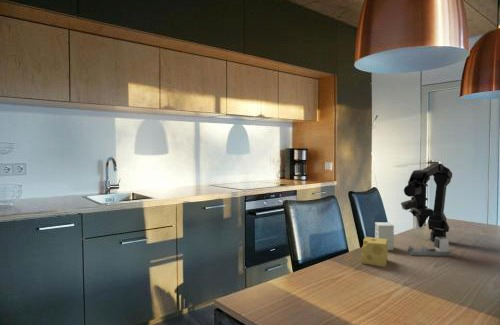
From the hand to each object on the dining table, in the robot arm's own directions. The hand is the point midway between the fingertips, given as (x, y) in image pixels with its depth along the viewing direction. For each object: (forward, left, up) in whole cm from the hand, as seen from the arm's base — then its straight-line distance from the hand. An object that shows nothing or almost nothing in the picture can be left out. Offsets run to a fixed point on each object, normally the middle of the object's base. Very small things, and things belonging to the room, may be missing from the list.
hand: (418, 226), depth 166 cm
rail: (-1, +8, -12) cm, 14 cm away
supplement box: (+17, -1, -12) cm, 21 cm away
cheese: (+28, +20, -12) cm, 37 cm away
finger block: (0, 0, -1) cm, 1 cm away
